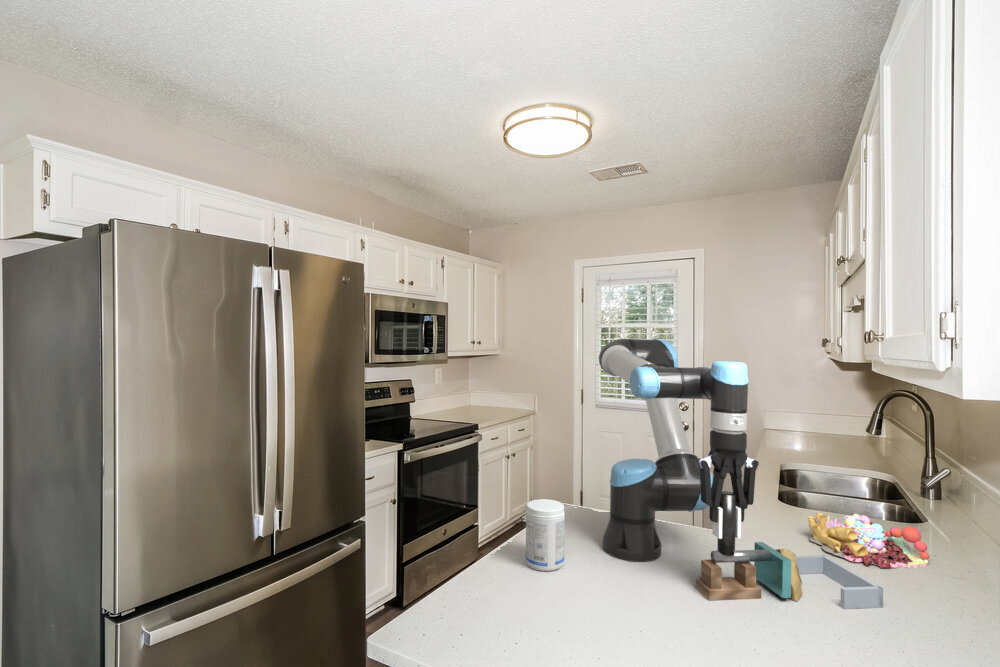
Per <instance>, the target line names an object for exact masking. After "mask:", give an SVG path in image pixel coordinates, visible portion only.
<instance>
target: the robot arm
mask: <svg viewBox="0 0 1000 667" xmlns="http://www.w3.org/2000/svg"><path fill="white" fill-rule="evenodd" d="M678 360H679V358H678V354H677V349H676V348H675V346H674V345H673V344H672V343H671V342H670V341H668V340H665V339H659V338H652V339H643V338H642V339H641V338H640V339H639V338H638V339H637V338H619V339H614V340H612V341H609V342H607V343H606V344H605V345H604V346H603V347H602V348H601V349H600V352H599V355H598V363H599V366H600V368H601V369H602V370H603V372H605V374H607V375H609V376H612V377H618V378H619V379H622V380H623V381H625V382H627V383H628V384H629V388H630V391H631V393H632V396H634V397H635V398H640V399H645V403H646V408H647V412H648V416H649V420H650V425H651V428H652V433H653V437H654V441H655V446H656V451H657V455H658V458H657V459H656V460H655V461H654V460H652V459H647V458H642V459H641V458H629V459H623V460H619V461H618V462H616V463H615V464H613V466H612V467H611V470H610V479H609V485H610V488H609V489H610V492H609V493H610V498H609V500H610V501H609V502H610V503H609V520H608V523H607V525H606V528H605V532H604V535H603V538H602V548H603V551H605V552H606V554H608V555H610V556H612V557H614V558H618V559H620V560H623V561H629V562H643V563H644V562H649V561H650V562H651V561H655V560H657V559H659V558H660V557H661V556H662V543H661V539H660V536H659V532H658V529H657V526H656V512H693V511H694V512H695V511H696V512H697V511H703V510H706V509H708V507H709V514H708V515H709V521H711V522H712V535H713V536H714V537H716V538H717V539H718V538H719V539H722V515H723V509H722V508H720V507H719V505H720V499H721V494H722V491H723V489H724V483H725V479H726V478H727V475H728V474H729V476H730V481H731V482H730V483H731V488H732V492H733V493H735V494H736V525H735V539H742V537H741V536H742V533H741V532H742V523H743V522H745V510H747V509H748V507H749V506H752V505H754V501H755V500H754V499H755V487H756V486H755V485H756V484H755V483H756V472H757V469H758V467H759V461H758V460H756V459H754V458H752V457H751V458H750V457H748V454H747V451H746V450H747V448H748V447H747V445H748V444H747V443H748V441H747V440H748V438H747V437H748V435H747V433H746V431H747V428H748V425H747V424H748V394H749V393H748V392H749V377H748V376H749V374H748V366H747V364H746V362H742V361H726V360H725V361H723V360H719V361H718V360H717V361H713V362H712V363H711V367H710V368H709V367H707V366H697V367H679V362H678ZM677 399H681V400H683V399H686V400H688V399H689V400H690V399H691V400H693V399H695V400H708V401H710V412H709V413H710V416H709V418H710V419H709V427H710V428H711V430H710V431H709V447H710V451H709V453H708V456H706V457H704V458H698V456H697V455H696V454H695V453H694V452H691V451H690V450H691V449H690V446H689V443H688V438H687V435H686V432H685V428H684V427H685V426H684V425H683V420H682V417H681V413H680V409H679V405H678V403H677ZM711 464H712V465H713V470H711V467H712V465H711ZM743 467H744V468H743ZM742 468H743V469H744V470H743V471H742ZM712 473H713V474H712ZM742 478H743V479H742Z"/></svg>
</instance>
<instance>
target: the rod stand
mask: <svg viewBox="0 0 1000 667" xmlns="http://www.w3.org/2000/svg"><path fill="white" fill-rule="evenodd" d="M733 563H734V565H733V569H734V570H733V572H734V574H733V576H725V577H724V576H723V577H722V575H723V573H722V572H723V571H722V570H723V569H722V568H723V567H721V566H720V565H719V564H718V563H713V562H712V560H711V558H710V559H701V560H700V577H696V578H695V588H696V589H697V590H698V591H699V592H700V593H701V594H702V595H703V596H704V597H705V598H706V599H707V600H708V601H726V600H727V601H729V600H730V601H731V600H735V601H736V600H754V599H755V600H757V599H762V588H761V587H759V586H758V585H757V578H756V567H755V566H754V564H752V562H733Z"/></svg>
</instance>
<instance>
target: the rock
mask: <svg viewBox="0 0 1000 667" xmlns="http://www.w3.org/2000/svg"><path fill="white" fill-rule="evenodd" d="M775 550H776V551H778V552H779V553H781V554H782V555H784V556H786V557H787V558H789V559H790V560H791V598H788V599H789V600H791V601H794V602H796V603H797V602H799V601H798V600H799V599H800V598H802V597H803V588H802V584H803V581H802V577H801V574H799V570H798V567H797V565H796V557H795V556H797V555H796V553H795V552H793V551H791V550H790V549H788V548H778V549H775Z"/></svg>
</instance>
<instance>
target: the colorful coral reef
mask: <svg viewBox="0 0 1000 667" xmlns="http://www.w3.org/2000/svg"><path fill="white" fill-rule="evenodd" d="M807 520H808V527H809V529H810V532H811V534H812V535H813V536H809V537H808V540H809V541H810V542H811V543H815V544H816V545H820V546H821V548H822V550H823V551H825V553H826V552H827V553H829V554H832V555H834V556H837V557H840V558H844V559H845V560H848V561H849V562H853V563H854V562H855V563H863V564H864V565H865V567H867V566H869V565H871V564H872V565H874V566H877V567H879V568H880V569H892V568H894V569H895V568H899V567H902V568H908V569H912V568H914V569H918V568H923V567H924V568H925V567H927V566H928V564H929V561H928V560H929V559H930V554H929V553H928V552H927V551H928V545H927V544H926V542H924V541H922V540H921V538H922V535H921V534H922V533H921V532H920V530H919V529H918V528H916V527H915V526H909V525H908V526H905V527H903V528H902V529H901V528H900V527H897V526H893V527H891V528H890V530H886V531H885V530H884V528H883V526H882V525H881V524H879V523H874V522H873V521H872V520H871V519H870V517H868V515H867V516H866V515H864V514H862V515H860V514H858V513H853V514H852V515H845V516H843V521H842V522H839V521H838V518H837V517H836V518H835V519H831V520H830V515H827V514H826V513H821V512H817V513H816V514H815V517H813V516H812V515H808V516H807ZM901 537H902V538H903V539H901ZM908 543H910V544H913V547H914V550H916V551H917V552H919V553H916V552H915V551H913V550H911V549H910V547H909V544H908Z"/></svg>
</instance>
